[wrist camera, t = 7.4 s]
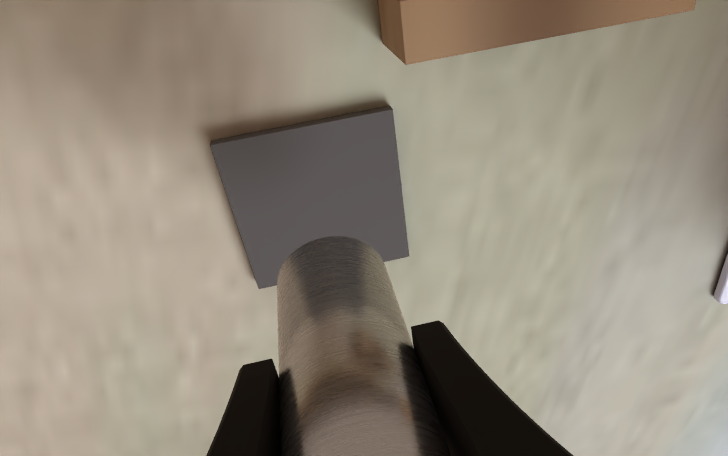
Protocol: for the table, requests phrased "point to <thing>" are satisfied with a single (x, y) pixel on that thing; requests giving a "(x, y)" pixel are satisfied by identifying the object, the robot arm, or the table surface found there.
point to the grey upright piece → (348, 359)
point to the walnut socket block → (501, 22)
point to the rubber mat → (315, 187)
